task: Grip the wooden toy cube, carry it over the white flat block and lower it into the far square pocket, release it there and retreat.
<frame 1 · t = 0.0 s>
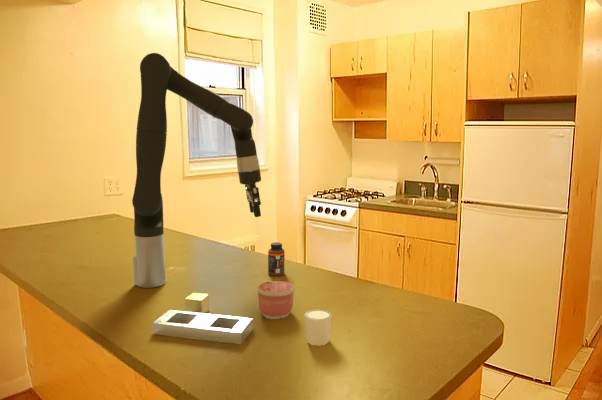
hand: (255, 214, 163), 22 cm above the table, tool pointing down, fingers open, 8 cm apart
supplement bottle: (276, 274, 169), on the table
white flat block: (203, 331, 121), on the table
container: (275, 314, 133), on the table
wooden toy cube: (197, 313, 133), on the table
white cup: (317, 341, 116), on the table
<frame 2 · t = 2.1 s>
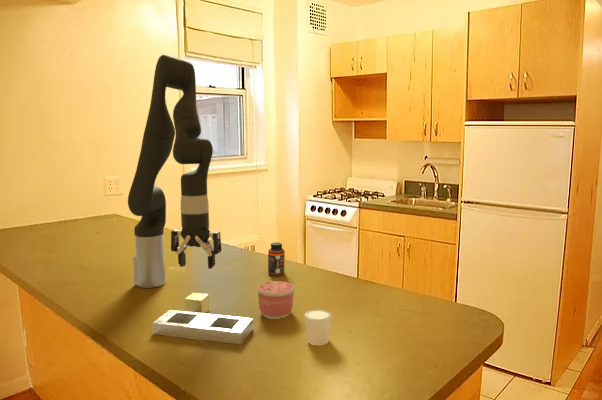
hand: (196, 267, 131), 14 cm above the table, tool pointing down, fingers open, 8 cm apart
nothing on the table moved.
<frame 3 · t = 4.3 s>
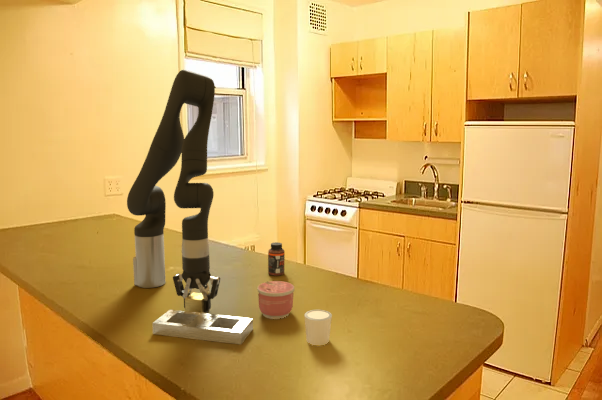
hand: (197, 310, 133), 1 cm above the table, tool pointing down, fingers closed on wooden toy cube, 5 cm apart
wooden toy cube: (197, 312, 133), on the table, touching gripper
everything else where it was.
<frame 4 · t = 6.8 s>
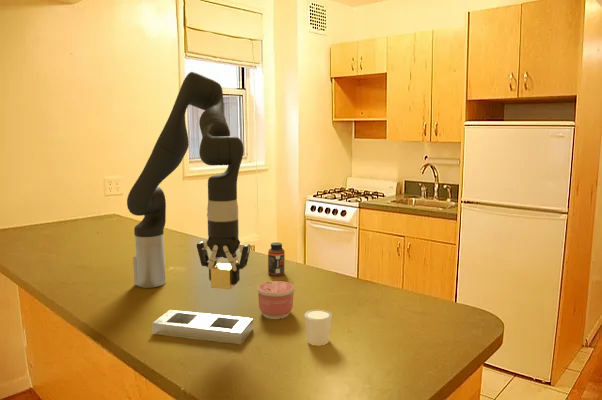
hand: (224, 282, 117), 14 cm above the table, tool pointing down, fingers closed on wooden toy cube, 5 cm apart
wooden toy cube: (224, 285, 117), point 13 cm above the table, touching gripper
everything else where it was.
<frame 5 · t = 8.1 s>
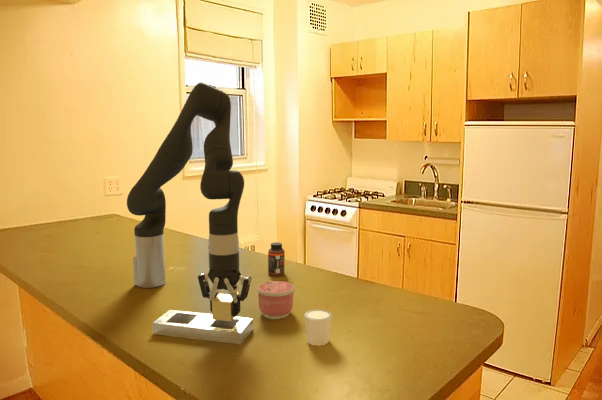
hand: (225, 313, 119), 5 cm above the table, tool pointing down, fingers closed on wooden toy cube, 5 cm apart
wooden toy cube: (225, 316, 119), point 5 cm above the table, touching gripper
everything else where it was.
when the fingers open (4 cm above the table, at t = 9.3 s): wooden toy cube drops 3 cm, resting in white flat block.
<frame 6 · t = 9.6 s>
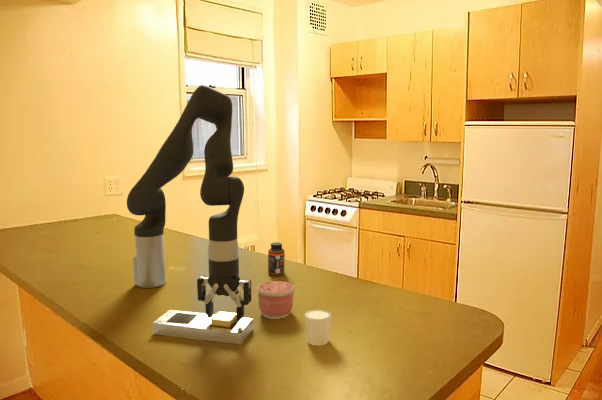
hand: (224, 317, 119), 4 cm above the table, tool pointing down, fingers open, 7 cm apart
wooden toy cube: (224, 334, 119), resting in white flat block
everything else where it was.
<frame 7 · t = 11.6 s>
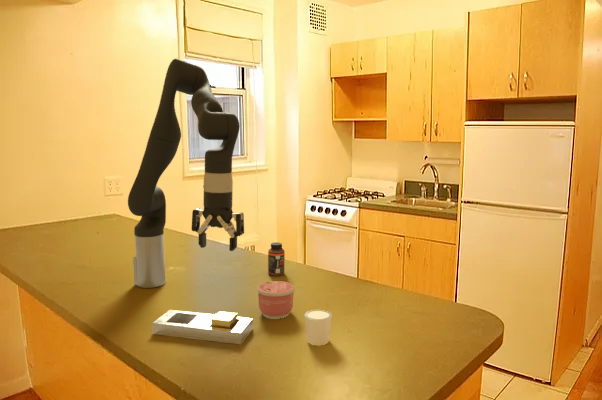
hand: (217, 248, 125), 20 cm above the table, tool pointing down, fingers open, 8 cm apart
nothing on the table moved.
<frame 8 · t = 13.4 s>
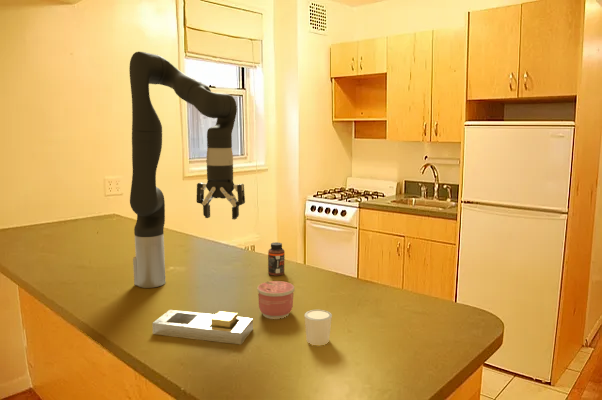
hand: (221, 218, 137), 26 cm above the table, tool pointing down, fingers open, 8 cm apart
nothing on the table moved.
at the end: wooden toy cube 0.1 cm from the target spot on the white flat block, point 0.0 cm above the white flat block's base; the gripper is holding nothing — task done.
